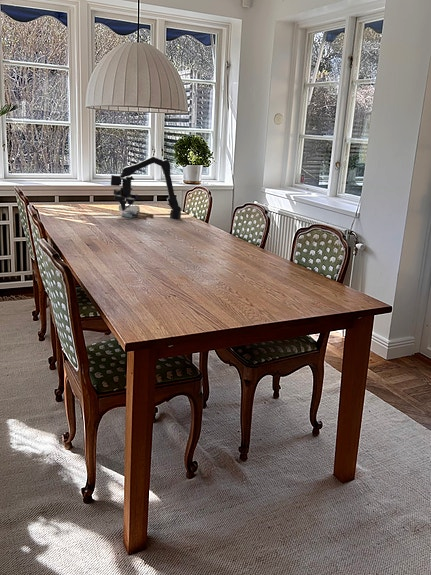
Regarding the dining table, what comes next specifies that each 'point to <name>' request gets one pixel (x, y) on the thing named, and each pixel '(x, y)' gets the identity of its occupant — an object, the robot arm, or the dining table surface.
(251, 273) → the dining table surface
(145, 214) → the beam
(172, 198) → the robot arm
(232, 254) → the dining table surface
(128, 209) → the silver metal tumbler
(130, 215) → the v block
